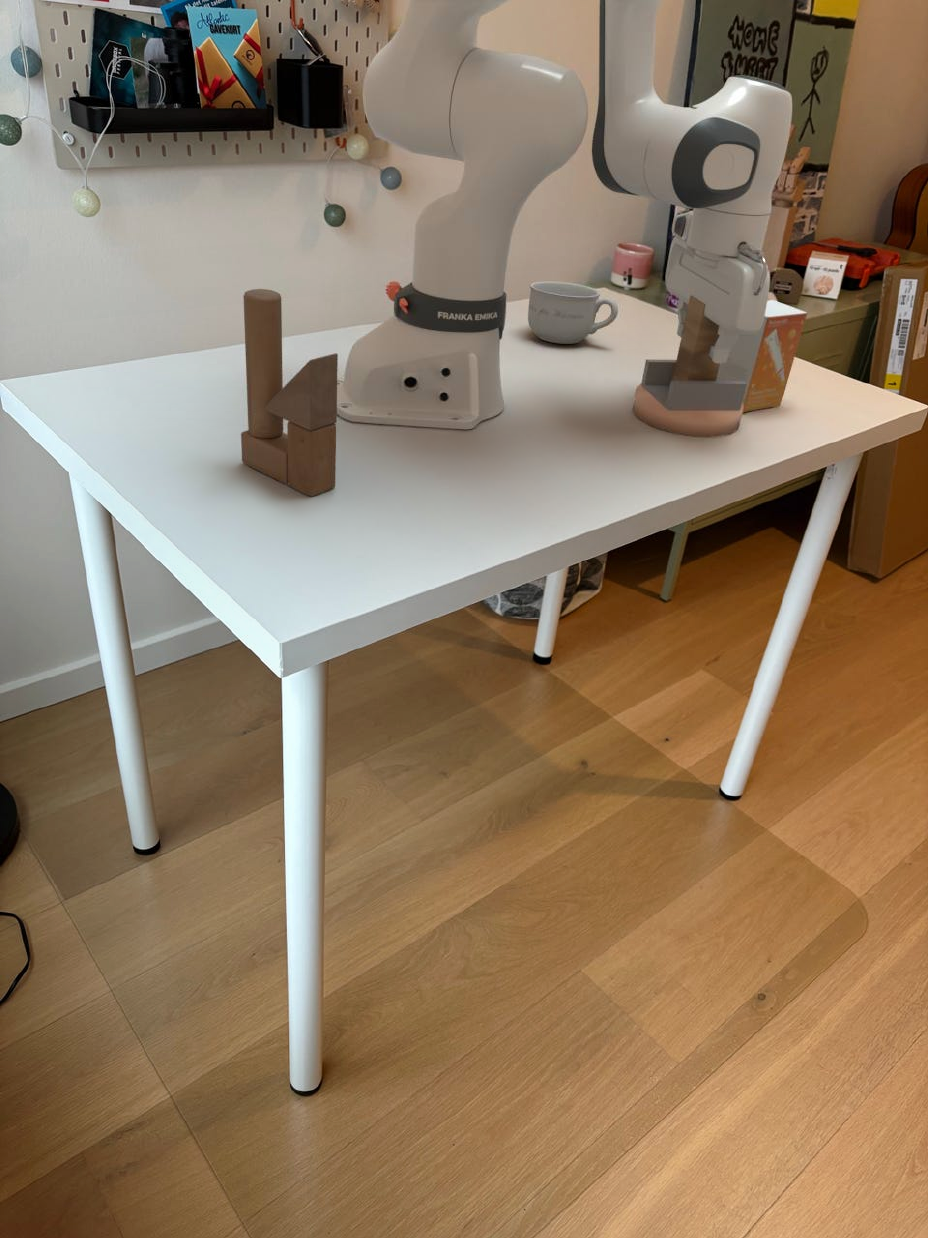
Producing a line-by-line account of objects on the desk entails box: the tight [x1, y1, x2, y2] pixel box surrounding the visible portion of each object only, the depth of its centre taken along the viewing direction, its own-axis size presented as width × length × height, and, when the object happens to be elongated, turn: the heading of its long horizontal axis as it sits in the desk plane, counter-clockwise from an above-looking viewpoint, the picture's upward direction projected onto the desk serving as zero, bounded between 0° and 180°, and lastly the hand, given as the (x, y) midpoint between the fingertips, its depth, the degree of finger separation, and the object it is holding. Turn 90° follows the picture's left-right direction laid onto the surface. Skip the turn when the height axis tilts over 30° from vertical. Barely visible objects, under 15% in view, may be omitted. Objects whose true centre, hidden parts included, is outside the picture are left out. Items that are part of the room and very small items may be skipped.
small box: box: [716, 299, 808, 413], centre depth 129 cm, size 8×6×13 cm
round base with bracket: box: [632, 358, 747, 438], centre depth 124 cm, size 14×14×6 cm
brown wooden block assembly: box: [240, 288, 339, 497], centre depth 95 cm, size 4×11×18 cm, turn 51°
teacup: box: [527, 280, 619, 345], centre depth 147 cm, size 14×11×8 cm
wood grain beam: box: [672, 295, 720, 381], centre depth 120 cm, size 4×4×12 cm
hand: (700, 348), depth 121 cm, fingers open, 8 cm apart
